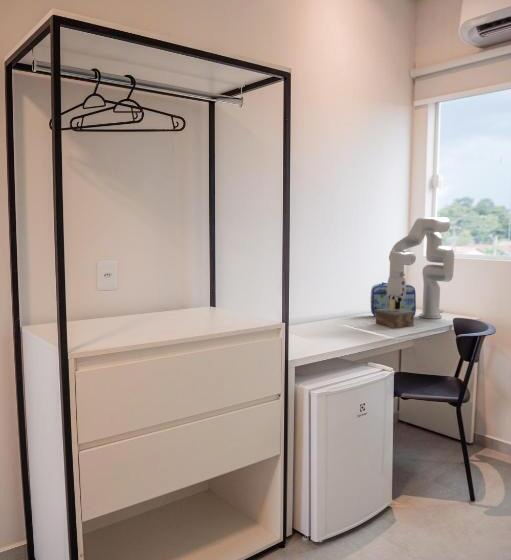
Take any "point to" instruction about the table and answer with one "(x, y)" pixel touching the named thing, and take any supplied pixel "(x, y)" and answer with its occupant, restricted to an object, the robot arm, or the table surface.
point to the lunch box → (383, 301)
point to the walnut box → (394, 320)
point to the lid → (392, 309)
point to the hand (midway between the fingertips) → (395, 308)
